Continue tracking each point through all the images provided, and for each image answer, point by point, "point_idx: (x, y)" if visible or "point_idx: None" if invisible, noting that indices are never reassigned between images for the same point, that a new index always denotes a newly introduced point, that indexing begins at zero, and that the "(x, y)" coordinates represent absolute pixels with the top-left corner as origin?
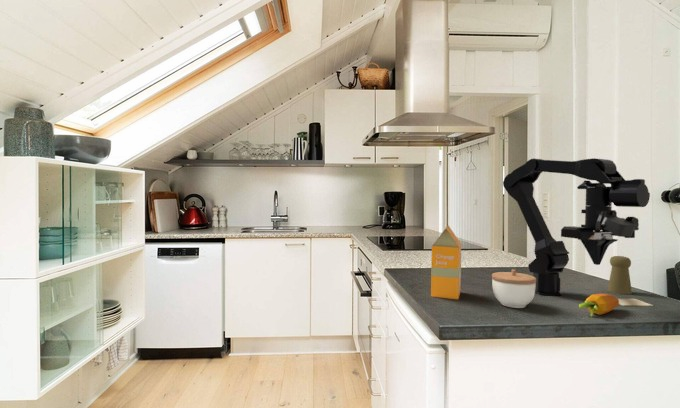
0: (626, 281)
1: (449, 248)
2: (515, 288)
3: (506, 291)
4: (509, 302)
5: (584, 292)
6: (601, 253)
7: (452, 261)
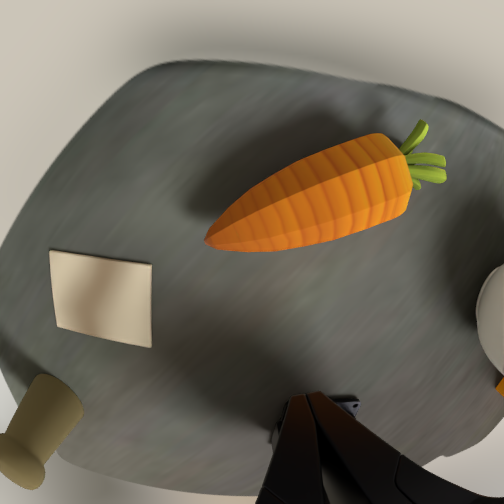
0: (31, 403)
1: None
2: None
3: None
4: None
5: (169, 421)
6: (319, 473)
7: None
